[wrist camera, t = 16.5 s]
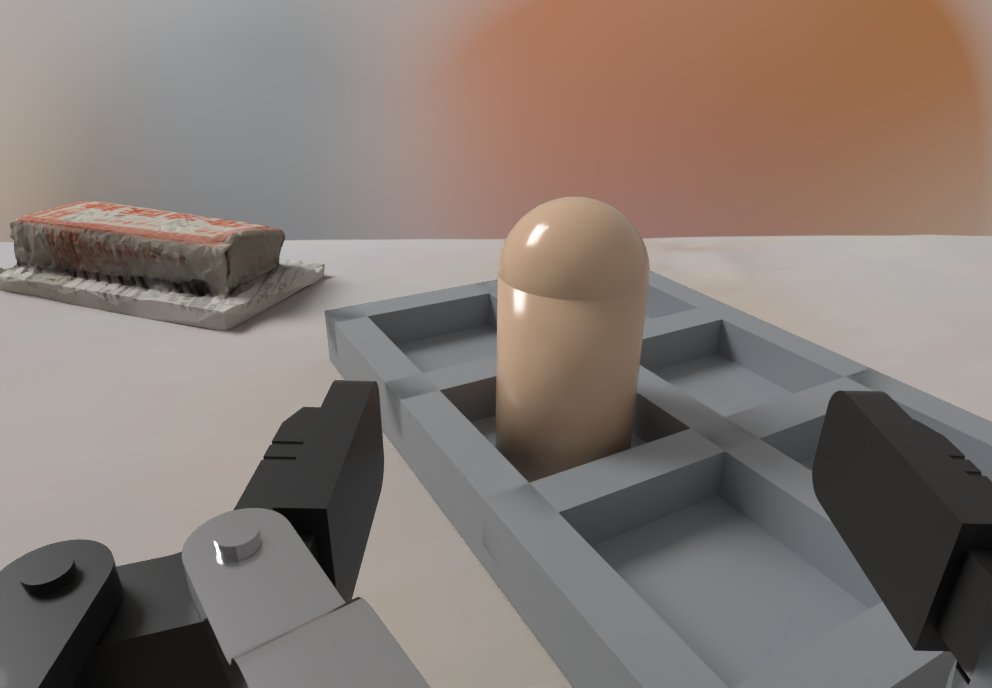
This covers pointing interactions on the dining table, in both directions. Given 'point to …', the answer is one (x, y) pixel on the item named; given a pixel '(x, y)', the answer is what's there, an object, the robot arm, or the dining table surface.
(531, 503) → the grey compartment tray
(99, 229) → the packaged product
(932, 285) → the dining table surface
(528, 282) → the tan domed cylinder
